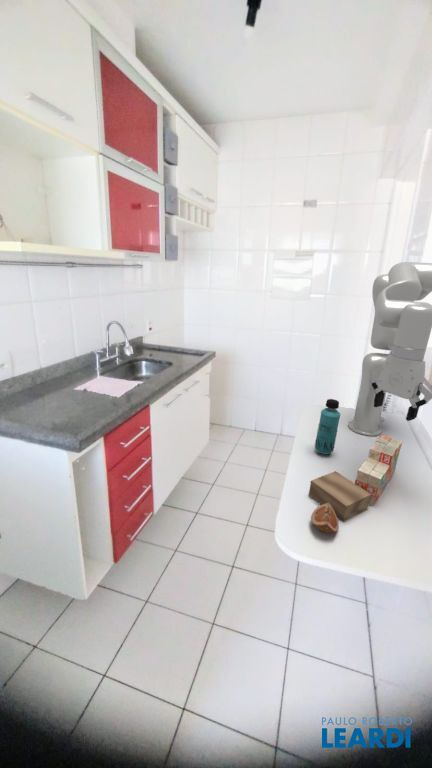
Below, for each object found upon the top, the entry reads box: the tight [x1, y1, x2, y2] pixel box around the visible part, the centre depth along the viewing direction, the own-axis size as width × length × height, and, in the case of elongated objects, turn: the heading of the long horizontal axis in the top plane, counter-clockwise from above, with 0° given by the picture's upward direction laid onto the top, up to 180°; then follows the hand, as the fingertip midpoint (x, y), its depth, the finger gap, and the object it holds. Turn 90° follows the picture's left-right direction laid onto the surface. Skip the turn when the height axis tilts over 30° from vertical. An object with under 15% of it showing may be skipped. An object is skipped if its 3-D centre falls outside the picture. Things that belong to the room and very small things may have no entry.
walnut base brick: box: [308, 470, 371, 523], centre depth 94 cm, size 10×12×5 cm
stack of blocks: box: [354, 434, 403, 507], centre depth 101 cm, size 21×6×12 cm, turn 140°
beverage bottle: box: [314, 398, 341, 455], centre depth 116 cm, size 6×7×20 cm
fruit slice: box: [310, 502, 340, 534], centre depth 85 cm, size 8×7×5 cm
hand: (393, 412), depth 95 cm, fingers open, 9 cm apart
